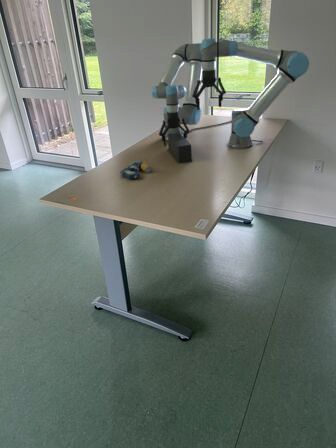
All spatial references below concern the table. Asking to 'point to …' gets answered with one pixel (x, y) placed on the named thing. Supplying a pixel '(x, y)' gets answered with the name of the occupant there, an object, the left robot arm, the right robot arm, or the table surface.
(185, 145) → the box
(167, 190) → the table surface
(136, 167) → the spray gun
